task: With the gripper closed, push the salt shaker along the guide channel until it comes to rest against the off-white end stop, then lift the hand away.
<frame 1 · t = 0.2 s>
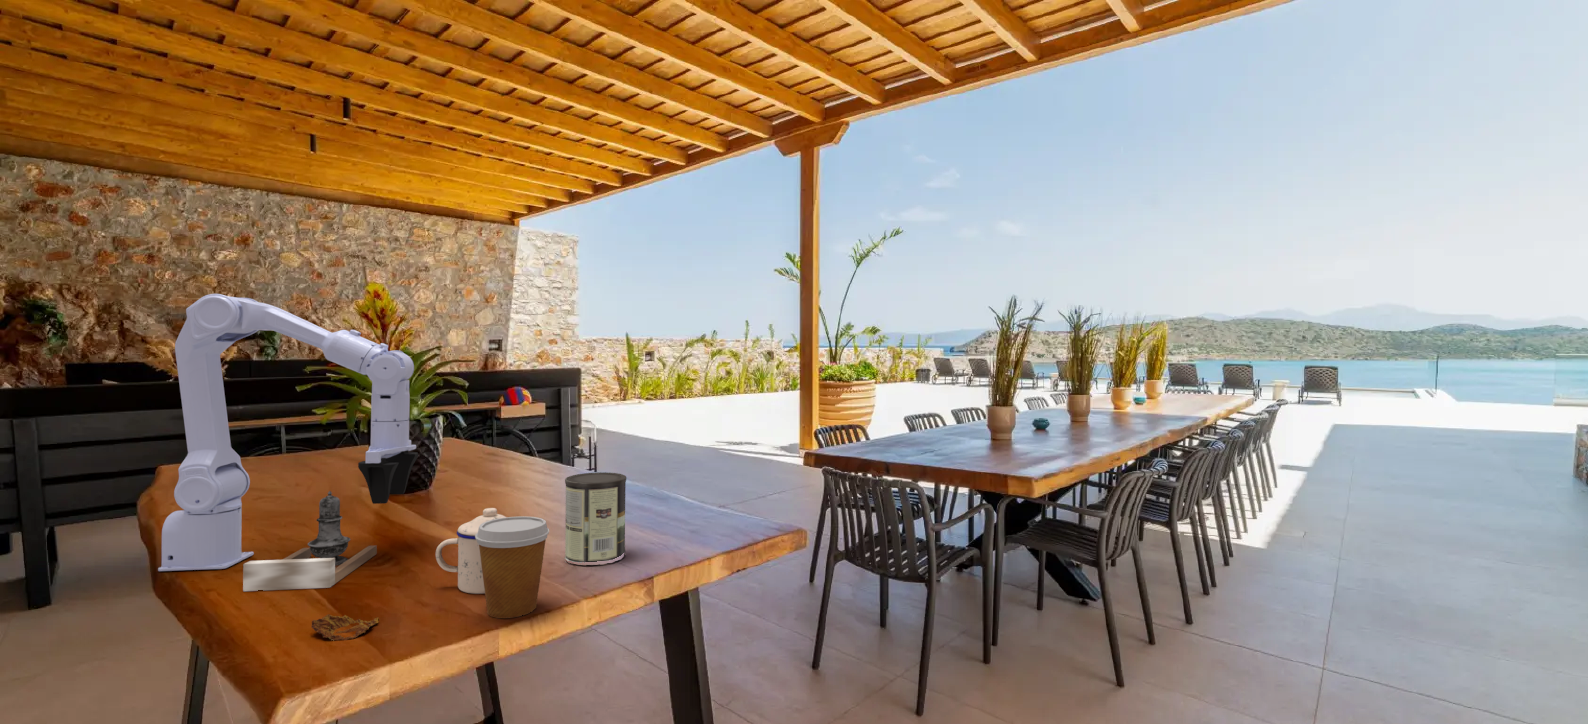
hand: (389, 498, 117), 10 cm above the table, tool pointing down, fingers open, 7 cm apart
disposable coffee cup: (512, 611, 94), on the table
coffee can: (594, 558, 118), on the table
salt shaker: (329, 563, 113), on the table
teacup with lid: (478, 586, 103), on the table
leaf: (347, 634, 86), on the table
guide channel: (317, 570, 109), on the table
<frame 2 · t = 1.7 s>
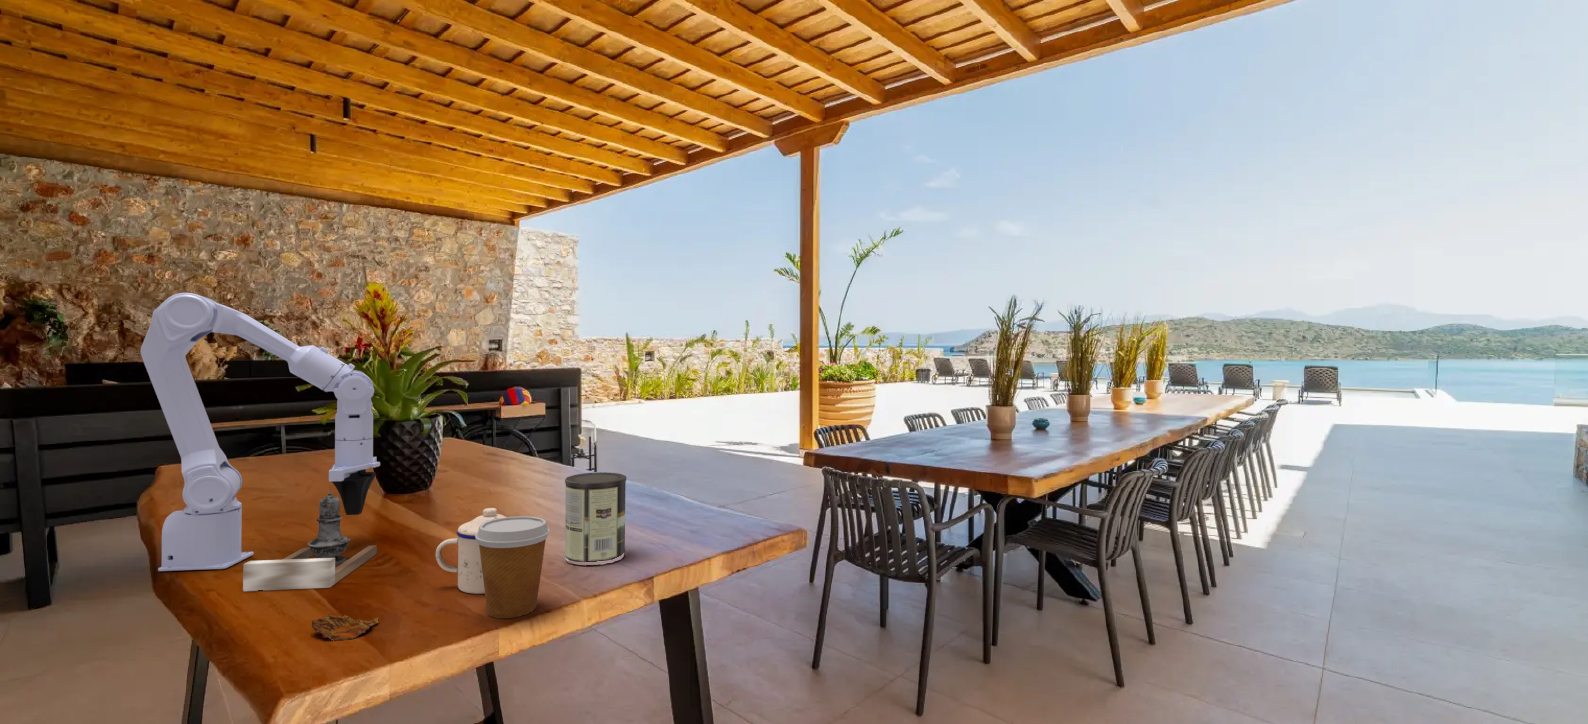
hand: (354, 514, 122), 6 cm above the table, tool pointing down, fingers closed
nothing on the table moved.
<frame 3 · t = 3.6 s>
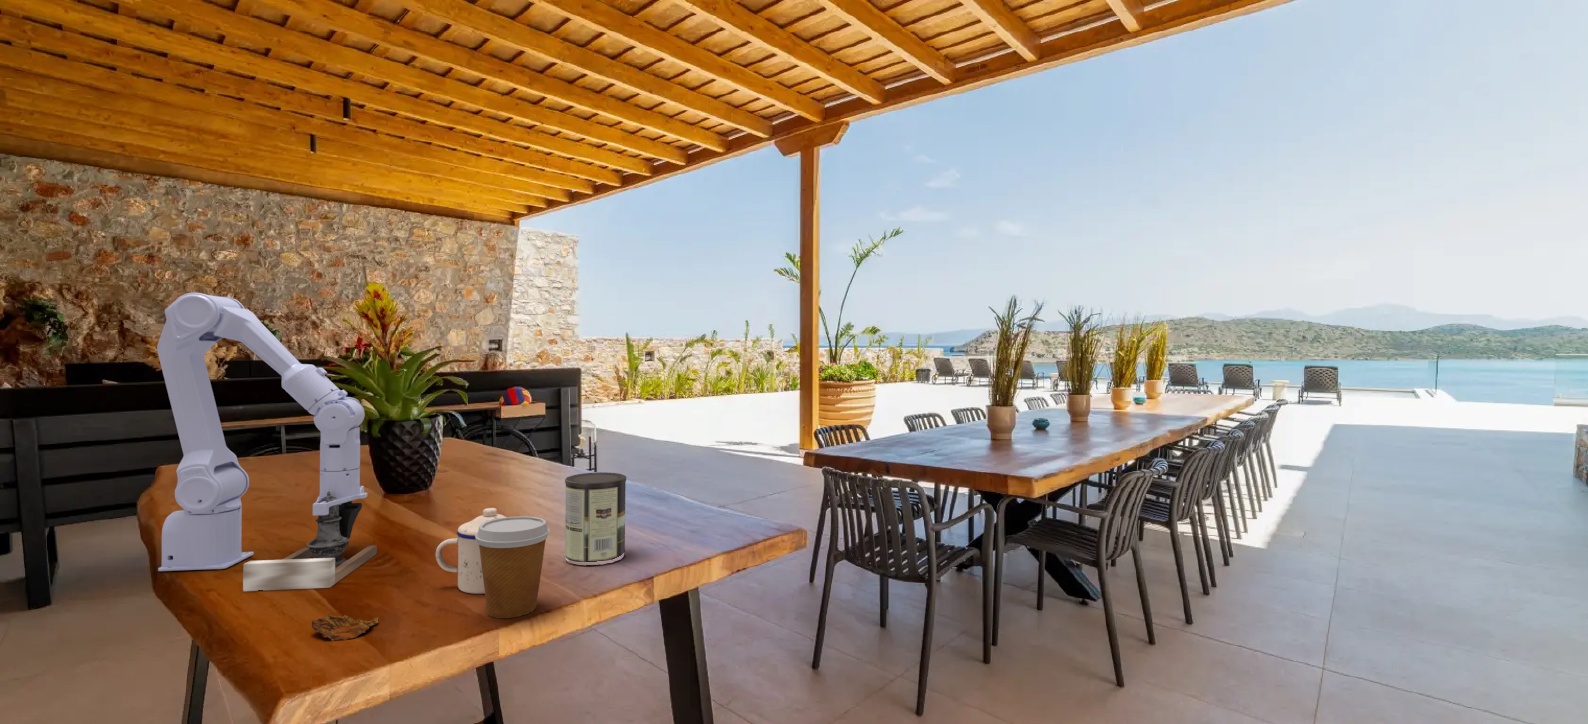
hand: (339, 547, 116), 1 cm above the table, tool pointing down, fingers closed
salt shaker: (328, 564, 112), on the table, touching gripper
everything else where it was.
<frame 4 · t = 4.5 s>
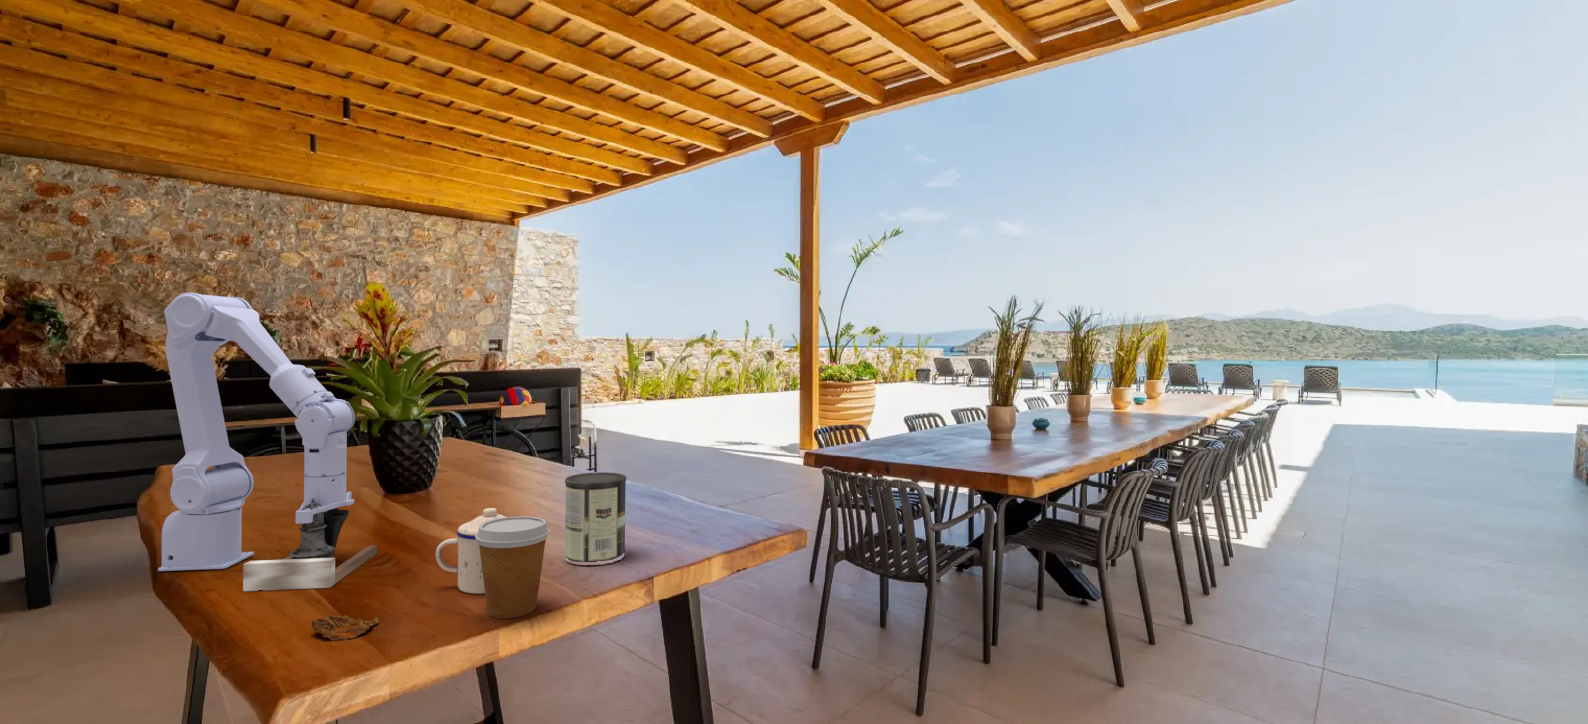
hand: (325, 556, 111), 1 cm above the table, tool pointing down, fingers closed
salt shaker: (312, 574, 107), on the table, touching gripper
everything else where it was.
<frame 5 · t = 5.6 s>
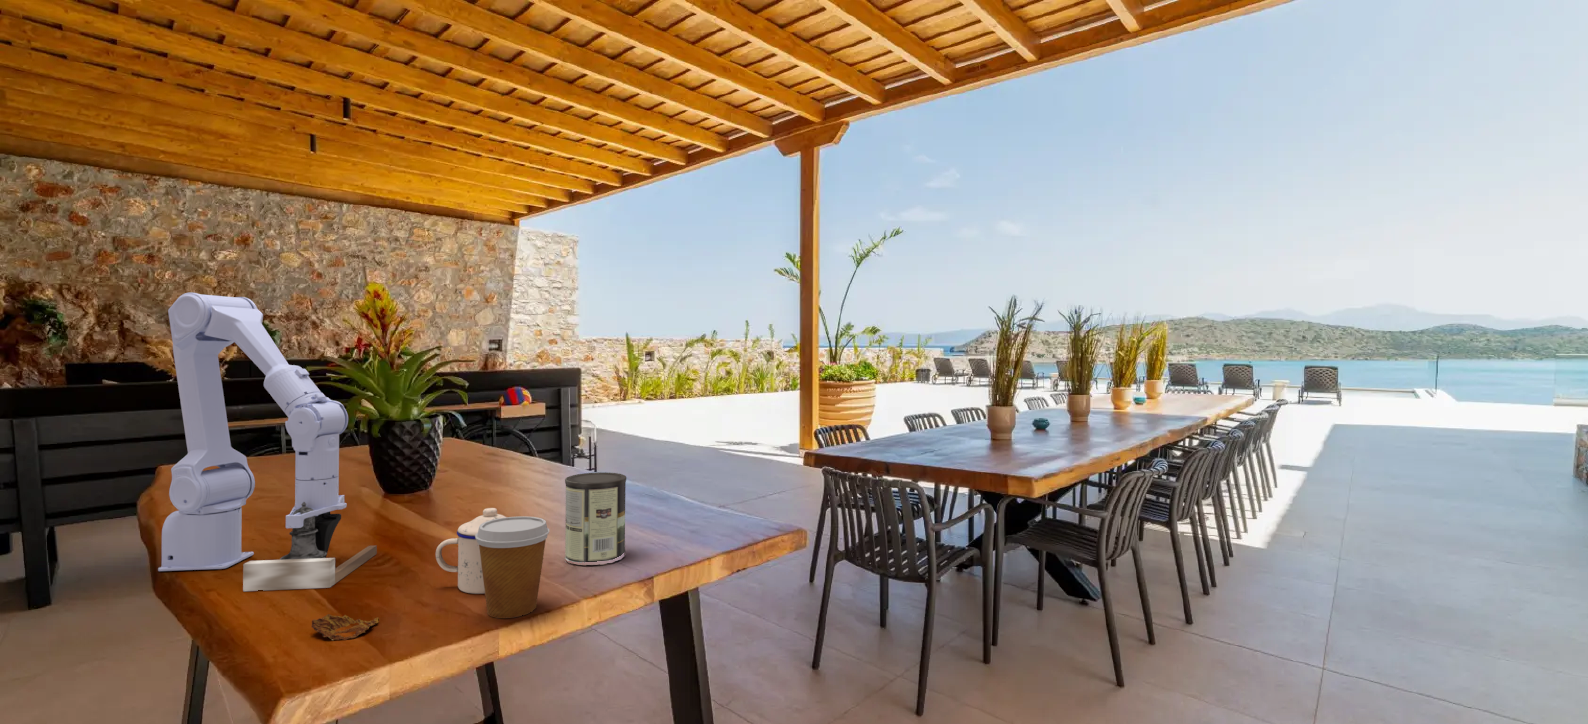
hand: (316, 561, 109), 1 cm above the table, tool pointing down, fingers closed
salt shaker: (303, 580, 105), on the table, touching gripper
everything else where it was.
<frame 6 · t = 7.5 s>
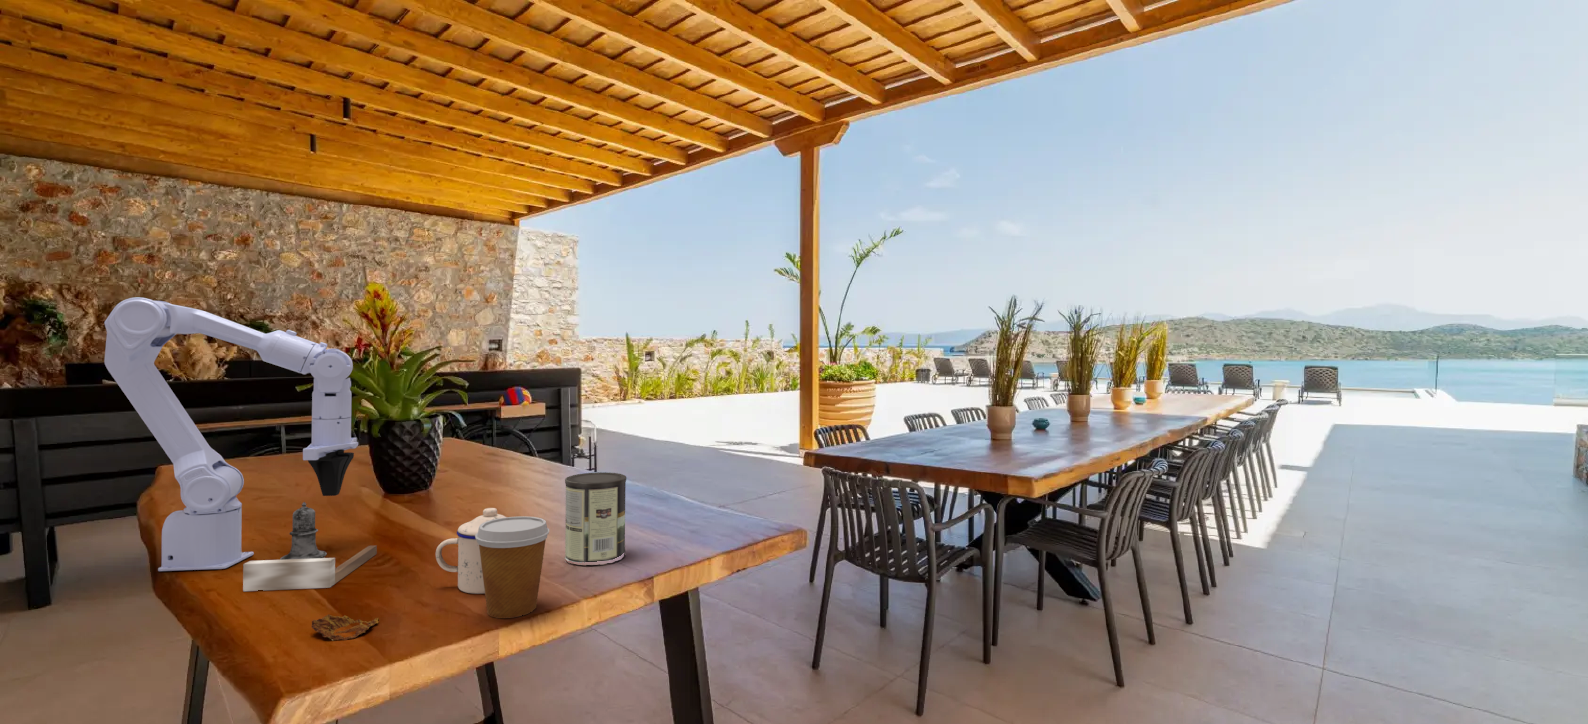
hand: (330, 495, 119), 10 cm above the table, tool pointing down, fingers closed
salt shaker: (303, 580, 105), on the table
everything else where it was.
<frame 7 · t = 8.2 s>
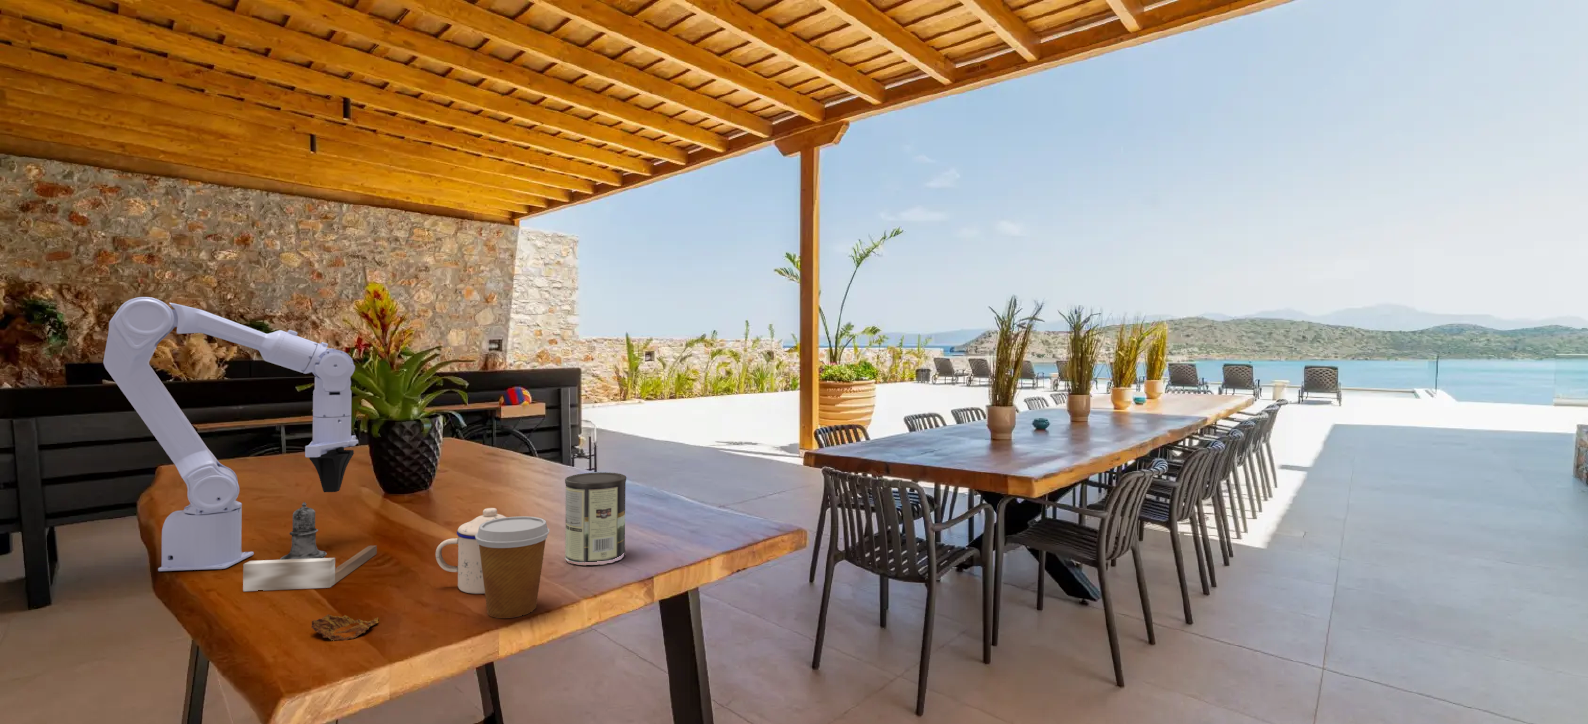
hand: (331, 491, 122), 10 cm above the table, tool pointing down, fingers closed
nothing on the table moved.
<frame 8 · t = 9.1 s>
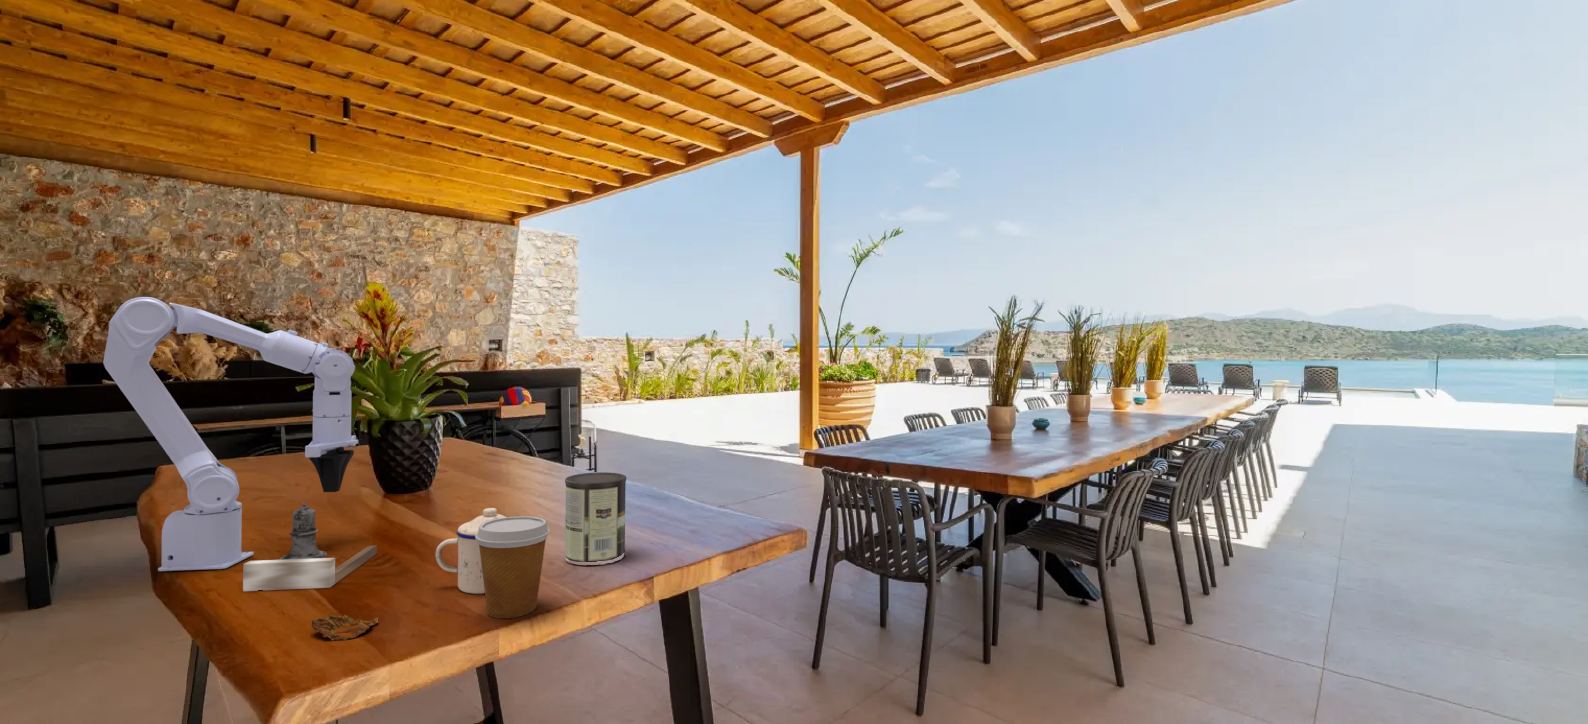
hand: (331, 491, 122), 10 cm above the table, tool pointing down, fingers closed
nothing on the table moved.
at the end: salt shaker 0.2 cm from the target spot, on the table; salt shaker tilted 0°; salt shaker moved 8.3 cm from its start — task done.
